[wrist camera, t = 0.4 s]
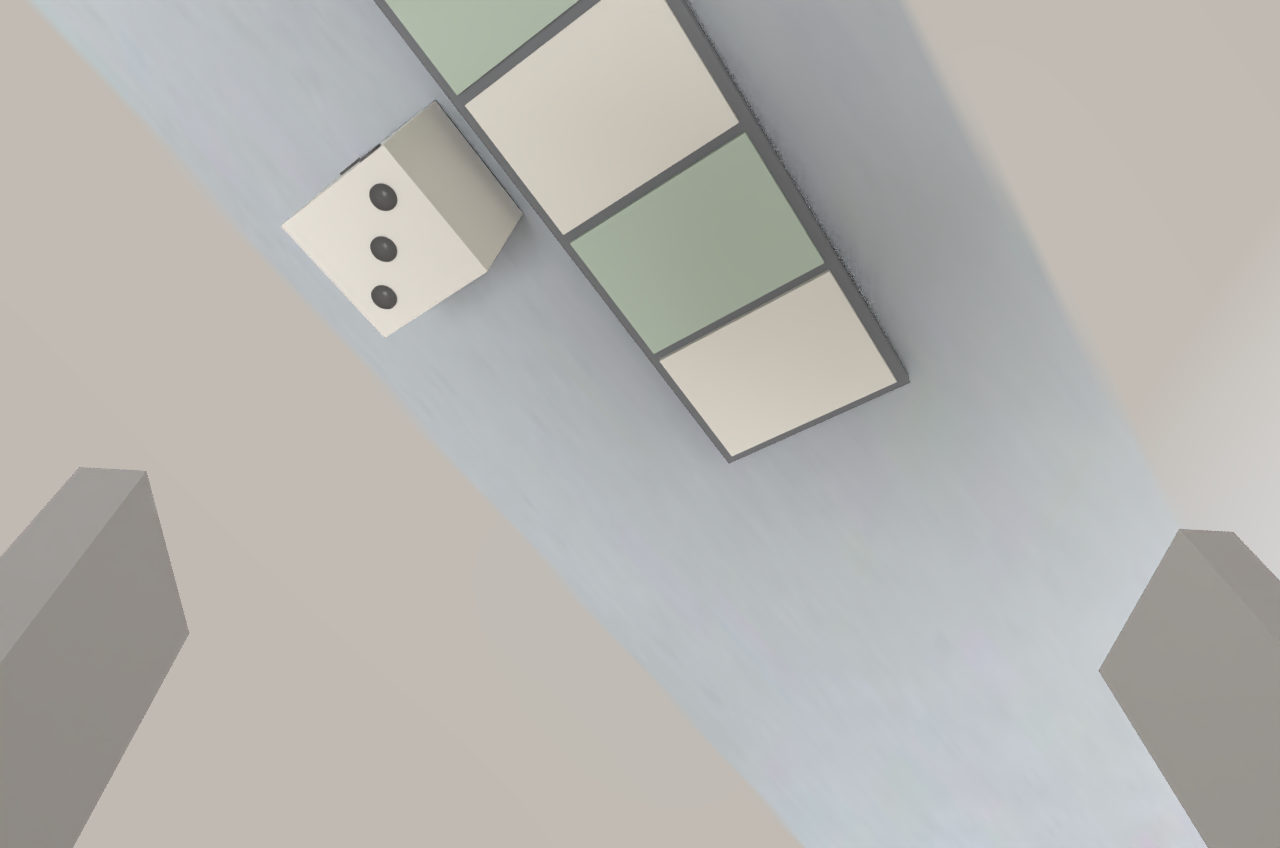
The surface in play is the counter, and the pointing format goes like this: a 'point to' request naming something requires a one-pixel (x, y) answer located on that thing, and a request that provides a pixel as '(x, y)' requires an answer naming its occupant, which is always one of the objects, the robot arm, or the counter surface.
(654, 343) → the board
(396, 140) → the die
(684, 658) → the counter surface
